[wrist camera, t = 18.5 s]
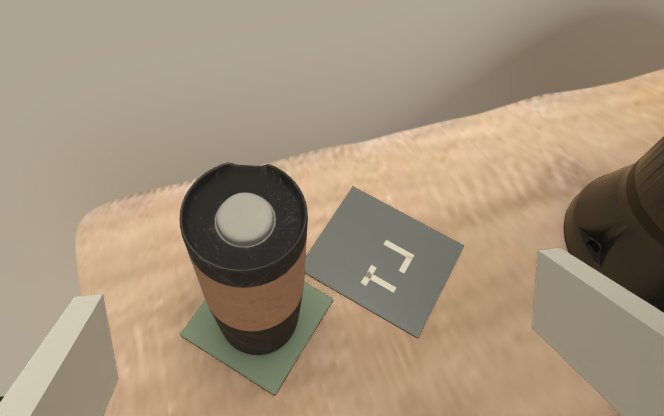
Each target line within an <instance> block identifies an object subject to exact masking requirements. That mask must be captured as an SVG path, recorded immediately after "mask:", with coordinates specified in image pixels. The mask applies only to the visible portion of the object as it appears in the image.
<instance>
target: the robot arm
mask: <svg viewBox="0 0 664 416" xmlns="http://www.w3.org/2000/svg"><path fill="white" fill-rule="evenodd" d="M564 232H565V239H566V243H567V247H568V250H569V252H570V254H569V253H568V252H566V251H565V250H563V249H561V248H554V249H544V250H538V254H537V267H536V281H535V294H534V308H533V321H532V329H533V330H535V331H536V332H537V333H538V334H539V335H540V336H541V337H542V338H543V339H544V340H545V341H546V342H547V343H548V344H549V345H550V346H551V347H552V348H553V349H554V350H555V351H556V352H557V353H558V354H559V355H560V356H561V357H562V358H563V359H564V360H565V361H566V362H567V363H568V364H569V365H570V366H572V367H573V368H574V369H575V370H576V371H577V372H578V373H579V374H580V375H581V376H582V377H583V378H584V379H585V380H586V381H587V382H588V383H589V384H590V385H591V386H592V387H593V388H594V389H595V390H596V391H597V392H598V393H599V394H600V395H601V396H602V397H603V398H604V399H605V400H606V401H608V402H609V403H610V404H611V405H612V406H613V407H614V408H615V409H616V410H617V411H618V412H619V413H620V414H621V415H622V416H664V137H663V138H662V139H660V140H659V141H658V142H657V143H656V144H655V145H654V146H653V147H652V148H651V149H650V150H649V151H648V152H647V153H645V154H644V155H643V156H642V157H641V158H640V159H639V160H638V161H637V162H636V163H635V164H632V165H629V166H627V167H624V168H622V169H619V170H617V171H614V172H612V173H610V174H607V175H604V176H601V177H599V178H597V179H595V180H594V181H592V182H591V183H590V184H588V185H587V186H586V187H585V188H584V189H583V190H582V191H581V192H580V193H579V194H578V195H577V196H576V197H575V198H574V200H573V201H572V202H571V204H570V206H569V208H568V210H567V213H566V217H565V223H564ZM118 379H119V378H118V373H117V367H116V362H115V356H114V351H113V346H112V340H111V335H110V329H109V324H108V319H107V313H106V308H105V302H104V297H103V294H100V295H90V296H81V297H74V299H73V300H72V301H71V303H70V304H69V306H68V307H67V308H66V310H65V311H64V313H63V314H62V316H61V317H60V318H59V320H58V321H57V323H56V324H55V326H54V327H53V328H52V330H51V331H50V333H49V334H48V335H47V337H46V338H45V340H44V341H43V343H42V344H41V345H40V347H39V348H38V350H37V351H36V352H35V354H34V355H33V357H32V358H31V359H30V361H29V363H28V364H27V365H26V367H25V368H24V369H23V371H22V372H21V374H20V375H19V376H18V378H17V379H16V381H15V382H14V384H13V385H12V386H11V388H10V389H9V391H8V392H7V393H6V395H5V396H3V397H0V416H104V414H105V411H106V409H107V406H108V404H109V401H110V399H111V396H112V394H113V391H114V389H115V386H116V384H117V381H118Z"/></svg>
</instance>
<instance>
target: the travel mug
mask: <svg viewBox="0 0 664 416" xmlns="http://www.w3.org/2000/svg"><path fill="white" fill-rule="evenodd" d="M307 223H308V214H307V206H306V201H305V199H304V196H303V194H302V192H301V190H300V188H299V187H298V185H297V184H296V183H295V181H294V180H293V179H292V178H291V177H290V176H288V175H287V174H286V173H285V172H283V171H282V170H280V169H279V168H277V167H275V166H273V165H270V164H266V165H263V166H248V165H247V166H246V165H236V164H233V163H225V164H221V165H219V166H217V167H215V168H213V169H211V170H209V171H208V172H206V173H204V174H203V175H202V176H201V177H200V178H198V179H197V180H196V181H195V182H194V183H193V185H192V186H191V187H190V189H189V190H188V192H187V194H186V195H185V197H184V200H183V202H182V205H181V210H180V229H181V233H182V237H183V240H184V242H185V245H186V248H187V250H188V253H189V256H190V259H191V261H192V264H193V267H194V269H195V272H196V275H197V278H198V280H199V283H200V286H201V288H202V291H203V294H204V297H205V299H206V302H207V304H208V307H209V309H210V310H211V312H212V314H213V316H214V318H215V320H216V322H217V324H218V326H219V328H220V330H221V332H222V333H223V335H224V337H225V338H226V340H227V341H228V342H229V343H230V344H231V345H232V346H233V347H234V348H236V349H237V350H239V351H241V352H243V353H246V354H251V355H264V354H268V353H271V352H274V351H276V350H278V349H279V348H281V347H282V346H284V345H285V344H286V343H287V342H288V341H289V339H290V338H291V337H292V335H293V333H294V331H295V329H296V326H297V323H298V318H299V313H300V307H301V301H302V296H303V289H304V276H305V258H306V240H307Z"/></svg>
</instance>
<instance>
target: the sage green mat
mask: <svg viewBox="0 0 664 416" xmlns="http://www.w3.org/2000/svg"><path fill="white" fill-rule="evenodd" d="M332 302H333V298H331V297H329V296H328V295H326V294H324V293H323V292H321V291H319V290H317V289H316V288H314V287H312V286H311V285H309V284H307V283H305V282H304V289H303V296H302V301H301V307H300V313H299V318H298V323H297V326H296V329H295V331H294V333H293V335H292V337H291V338H290V339H289V341H288V342H287V343H286V344H285V345H284V346H282V347H281V348H279V349H278V350H276V351H274V352H271V353H268V354H264V355H251V354H246V353H243V352H241V351H239V350H237V349H236V348H234V347H233V346H232V345H231V344H230V343H229V342H228V341H227V340H226V338H225V337H224V335H223V333H222V332H221V330H220V328H219V326H218V324H217V322H216V320H215V318H214V316H213V314H212V312H211V310H210V309H209V307H208V304H207V302H206V300H205V301H204V302H203V304H202V305H201V306H200V308H199V309H198V311H197V312H196V313H195V315H194V316H193V317H192V319H191V320H190V321H189V323H188V324H187V325H186V327H185V328H184V329H183V331H182V332H181V333H180V335H181V336H182V337H183V338H185V339H186V340H188V341H190V342H191V343H193V344H194V345H196V346H197V347H199V348H201V349H202V350H204V351H205V352H207V353H208V354H210V355H212V356H213V357H215V358H216V359H218V360H219V361H221V362H223V363H224V364H226V365H227V366H229V367H230V368H232V369H234V370H235V371H237V372H238V373H240V374H241V375H243V376H245V377H246V378H248V379H249V380H251V381H252V382H254V383H256V384H257V385H259V386H260V387H262V388H263V389H265V390H267V391H268V392H270V393H271V394H273V395H274V396H275V395H276V393H277V392H278V390H279V388H280V387H281V385H282V384H283V382H284V380H285V379H286V377H287V375H288V374H289V372H290V370H291V369H292V367H293V366H294V364H295V362H296V361H297V359H298V357H299V356H300V354H301V352H302V351H303V349H304V347H305V346H306V344H307V343H308V341H309V339H310V338H311V336H312V334H313V333H314V331H315V329H316V328H317V326H318V325H319V323H320V321H321V320H322V318H323V316H324V315H325V313H326V311H327V310H328V308H329V306H330V305H331V303H332Z"/></svg>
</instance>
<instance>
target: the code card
mask: <svg viewBox="0 0 664 416" xmlns="http://www.w3.org/2000/svg"><path fill="white" fill-rule="evenodd" d="M463 247H464V245H462V244H460V243H458V242H456V241H455V240H453V239H451V238H449V237H447V236H445V235H443V234H441V233H440V232H438V231H436V230H434V229H432V228H430V227H428V226H426V225H425V224H423V223H421V222H419V221H417V220H415V219H413V218H411V217H410V216H408V215H406V214H404V213H402V212H400V211H398V210H396V209H395V208H393V207H391V206H389V205H387V204H385V203H383V202H381V201H380V200H378V199H376V198H374V197H372V196H370V195H368V194H366V193H365V192H363V191H361V190H359V189H357V188H355V187H352V188H351V190H350V191H349V193H348V194H347V196H346V197H345V199H344V200H343V202H342V203H341V205H340V206H339V208H338V209H337V211H336V212H335V214H334V215H333V217H332V218H331V220H330V221H329V223H328V224H327V226H326V227H325V229H324V230H323V232H322V233H321V235H320V236H319V238H318V239H317V241H316V242H315V244H314V245H313V247H312V248H311V250H310V251H309V253H308V254H307V256H306V258H305V273H306V274H307V275H309V276H311V277H312V278H314V279H316V280H318V281H319V282H321V283H323V284H325V285H326V286H328V287H330V288H331V289H333V290H335V291H337V292H338V293H340V294H342V295H344V296H345V297H347V298H349V299H350V300H352V301H354V302H356V303H357V304H359V305H361V306H363V307H364V308H366V309H368V310H369V311H371V312H373V313H375V314H376V315H378V316H380V317H382V318H383V319H385V320H387V321H388V322H390V323H392V324H394V325H395V326H397V327H399V328H401V329H402V330H404V331H406V332H407V333H409V334H411V335H413V336H414V337H416V338H418V337H419V335H420V333H421V331H422V329H423V327H424V325H425V323H426V321H427V319H428V317H429V315H430V313H431V311H432V309H433V307H434V305H435V303H436V301H437V299H438V297H439V295H440V293H441V291H442V289H443V287H444V285H445V283H446V281H447V279H448V277H449V275H450V273H451V271H452V269H453V267H454V265H455V263H456V261H457V259H458V257H459V255H460V253H461V251H462V249H463Z"/></svg>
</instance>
